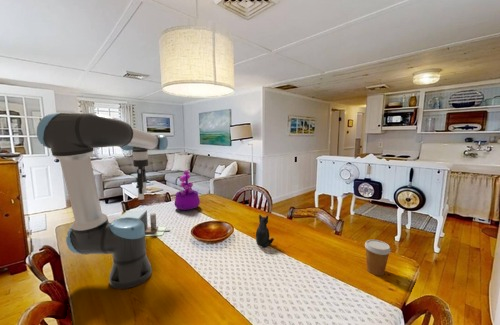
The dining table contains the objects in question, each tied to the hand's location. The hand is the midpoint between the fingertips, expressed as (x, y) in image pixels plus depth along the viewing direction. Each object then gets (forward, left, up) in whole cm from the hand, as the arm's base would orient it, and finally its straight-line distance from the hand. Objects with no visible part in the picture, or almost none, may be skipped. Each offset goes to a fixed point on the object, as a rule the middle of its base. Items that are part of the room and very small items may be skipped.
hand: (142, 196), depth 130 cm
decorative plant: (+34, -30, -22) cm, 50 cm away
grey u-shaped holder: (0, +1, -21) cm, 21 cm away
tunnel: (+1, +2, -22) cm, 22 cm away
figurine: (-41, -57, -22) cm, 74 cm away
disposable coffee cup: (-81, -89, -22) cm, 122 cm away
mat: (-2, -6, -22) cm, 23 cm away
